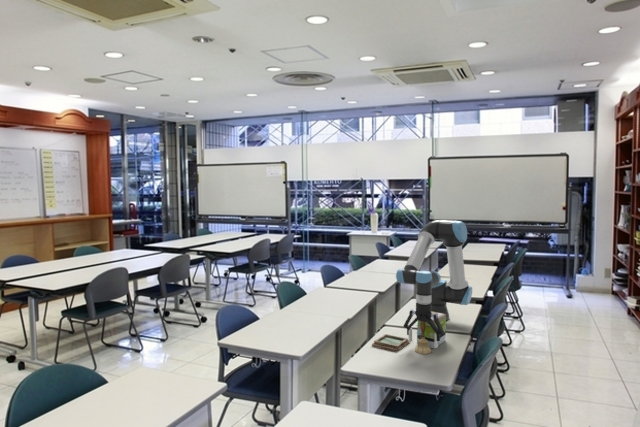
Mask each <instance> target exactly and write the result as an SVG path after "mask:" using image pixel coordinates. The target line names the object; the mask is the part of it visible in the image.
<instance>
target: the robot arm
mask: <svg viewBox="0 0 640 427" xmlns="http://www.w3.org/2000/svg"><path fill="white" fill-rule="evenodd" d="M417 238H418V239H417V241H416V243H415V245H414V248H412V249H413V250H412V251H411V253H410V255H409V257H408V259H407V261H406V263H405V266H404V267H403V268H399V269H397V270H396V275H395V278H396V281H397V283H400V284H404V285H412V286H415V310H414V309H410V310H409V313H408V317H407V318H406V321H405V322H404V325H403V328H405V329H406V335H407V336H408V340H409V344H410V343H412V342H413V328H412V327H414V325H415V324H416V323H418V320H420V321H424V322H427V323H428V324H429V325H430V326H431V327H432V329H433V330H434V332H435V333H436V334H435V348H434V349H437V348H438V347H439V345H438V341H440V335H442V334H443V333H444V331H443V328H442V326H441V324H440V322H439V319H438V314H432V313H431V311H432V312H437V313H442V314H446V321H447V320H449V319H450V313H449V310H448V306H447V303H448V304H449V303H450V304H455V305H461V306H467V305H469V304H470V302H471V300H472V296H473V286H471V285H469V282H468V280H466V277H465V276H466V274H465V263H464V253H463V246H464V244H465V242H467V239H468V229H467V226H466V224H465V222H463V221H460V220H446V219H445V220H442V219H436V220H432V221H430V222H428V223H427V224H426V225H424V226H423V227H422V228H421V230H420V231H419V232H418V235H417ZM435 241H441V242H442V241H443V243H442V244H443V246H445V248H446V254H447V263H448V265H447V266H448V272H449V281H447V280H446V279H441V277H442V276H441V275H440V273H439V272H438V271H435V270H431V271H429V270H420V268H421V266H422V264H423V262H424V260H425V259H426V255H427V254H428V251H429V249H430V247H431V245H432V244H434V243H435ZM414 315H415V316H416V317H415V318H414V319H413V320H412V318H413V316H414ZM431 317H433V319H434V321H435V323H436V325H435V324H434V323H433V321H432V319H431ZM411 320H412V322H411ZM436 326H437V327H436Z"/></svg>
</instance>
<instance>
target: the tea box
mask: <svg viewBox="0 0 640 427" xmlns="http://www.w3.org/2000/svg"><path fill="white" fill-rule="evenodd" d="M431 313H432V314H438V319H439V322H440V324H441V326H442V328H443V331H444V333H443V334H442V335H440V341H438V346H439V345H441V344H442V343H444V342H446V331H447V330H446V329H447V320H446V314H442V313H437V312H432V311H431ZM431 319H432V321H433V323H434V324H435V325H436V323H435V321H434V319H433V317H431ZM420 323H421V321H420V320H418V321H417V329H416V330H417V332H416V334H417V335H416V337H417V338H416V345H418V341H419V339H421V328H420ZM425 325H426V327H425V332H424V333H425V339H426V340H427V341H428V346H429V348H430V349H436V348H435V334H436V333H435V332H434V330H433V329H432V327H431V326H430V325H429V324H428V323H427V322H425ZM436 327H437V326H436Z"/></svg>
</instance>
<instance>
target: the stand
mask: <svg viewBox="0 0 640 427" xmlns="http://www.w3.org/2000/svg"><path fill="white" fill-rule="evenodd" d="M409 344H410V343H409V338H406V337H400V336H396V335H393V334H387V333H385V334H383V335H381V336H380V337H378V338H377V339H375V340H374V341H373V343H372V344H371V346H372V347H373V348H377V349H382V350H385V351H390V352H395V353H398V352H399V351H400V350H402V349H403V348H405V347H406V346H407V345H409Z"/></svg>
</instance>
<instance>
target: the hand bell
mask: <svg viewBox="0 0 640 427" xmlns="http://www.w3.org/2000/svg"><path fill="white" fill-rule="evenodd" d="M425 327H426V325H425V322H424V321H421V323H420V328H421V339H419V341H418V344H417V346H416V347H415V348H414V352H416V353H418V354H420V355H428V354H430V353H432V348H430V347H429V346H428V341H427V340H426V339H425V333H424V332H425Z"/></svg>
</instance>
